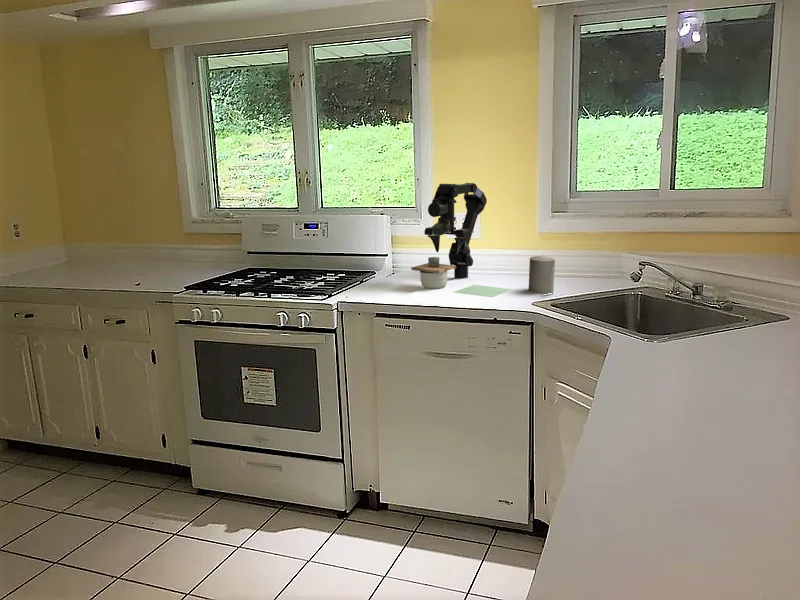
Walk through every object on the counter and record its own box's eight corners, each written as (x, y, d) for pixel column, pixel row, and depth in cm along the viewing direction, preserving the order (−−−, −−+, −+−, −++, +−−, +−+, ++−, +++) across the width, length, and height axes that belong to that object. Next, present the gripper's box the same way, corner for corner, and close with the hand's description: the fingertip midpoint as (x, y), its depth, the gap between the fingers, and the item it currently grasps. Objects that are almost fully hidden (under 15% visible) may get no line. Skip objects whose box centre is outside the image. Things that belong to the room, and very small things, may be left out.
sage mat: (474, 287, 279) (474, 284, 279) (512, 291, 270) (512, 289, 269) (452, 294, 266) (452, 292, 265) (492, 299, 256) (492, 297, 256)
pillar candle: (523, 291, 269) (524, 253, 266) (544, 289, 273) (546, 252, 269) (537, 296, 261) (538, 257, 257) (559, 294, 264) (560, 255, 261)
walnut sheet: (428, 265, 285) (428, 254, 284) (456, 268, 277) (456, 257, 276) (411, 270, 274) (411, 258, 273) (439, 273, 267) (439, 261, 266)
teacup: (445, 292, 270) (445, 272, 268) (417, 291, 272) (417, 271, 270) (449, 285, 283) (449, 266, 282) (423, 284, 285) (423, 265, 284)
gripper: (417, 215, 278) (417, 253, 282) (457, 217, 268) (456, 257, 271) (431, 213, 287) (431, 250, 291) (471, 215, 277) (470, 253, 280)
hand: (447, 253), depth 283 cm, fingers open, 9 cm apart
